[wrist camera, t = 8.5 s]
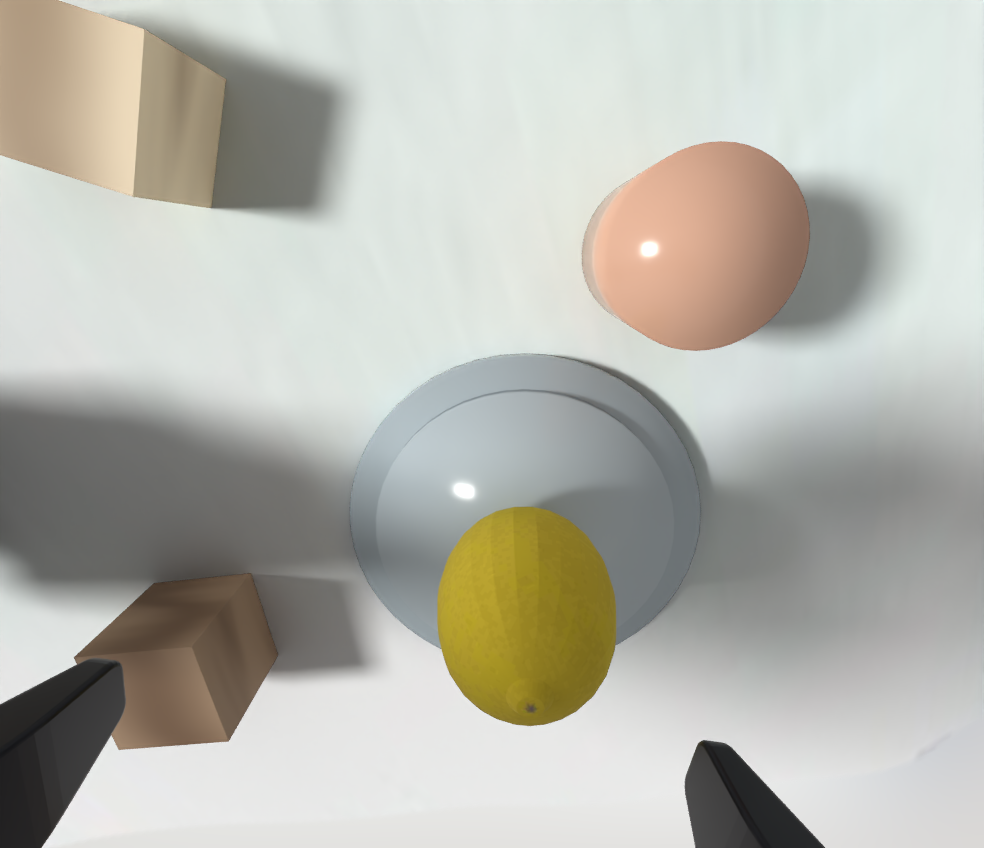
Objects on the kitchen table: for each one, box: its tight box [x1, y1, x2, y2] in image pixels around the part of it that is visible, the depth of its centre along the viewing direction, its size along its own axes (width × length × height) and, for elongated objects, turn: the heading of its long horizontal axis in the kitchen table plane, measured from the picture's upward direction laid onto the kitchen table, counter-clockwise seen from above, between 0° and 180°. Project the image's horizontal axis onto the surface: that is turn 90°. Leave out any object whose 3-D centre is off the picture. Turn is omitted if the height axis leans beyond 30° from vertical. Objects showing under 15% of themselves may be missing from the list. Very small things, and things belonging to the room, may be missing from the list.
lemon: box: [437, 507, 616, 726], centre depth 16 cm, size 6×6×8 cm
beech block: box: [0, 0, 226, 208], centre depth 15 cm, size 6×4×4 cm, turn 73°
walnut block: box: [74, 573, 278, 750], centre depth 21 cm, size 4×4×4 cm
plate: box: [350, 354, 701, 649], centre depth 21 cm, size 14×14×1 cm
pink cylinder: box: [582, 142, 810, 351], centre depth 15 cm, size 5×5×5 cm
